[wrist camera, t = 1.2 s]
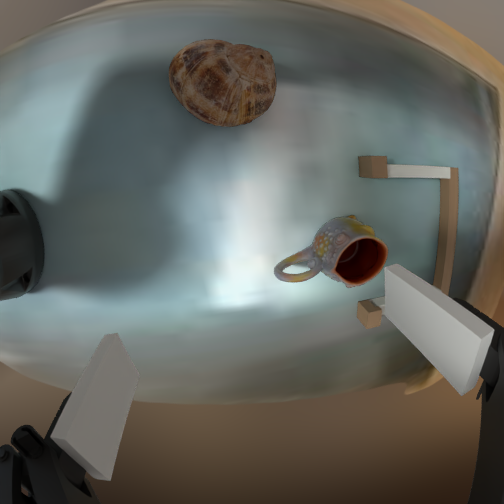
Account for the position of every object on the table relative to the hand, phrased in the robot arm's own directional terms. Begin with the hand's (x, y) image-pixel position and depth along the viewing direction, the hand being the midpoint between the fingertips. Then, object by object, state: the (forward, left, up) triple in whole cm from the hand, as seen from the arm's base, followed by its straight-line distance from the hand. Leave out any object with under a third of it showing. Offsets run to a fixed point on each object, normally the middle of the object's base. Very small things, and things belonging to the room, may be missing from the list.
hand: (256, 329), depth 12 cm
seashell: (0, +17, -20) cm, 26 cm away
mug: (+9, -3, -20) cm, 22 cm away
